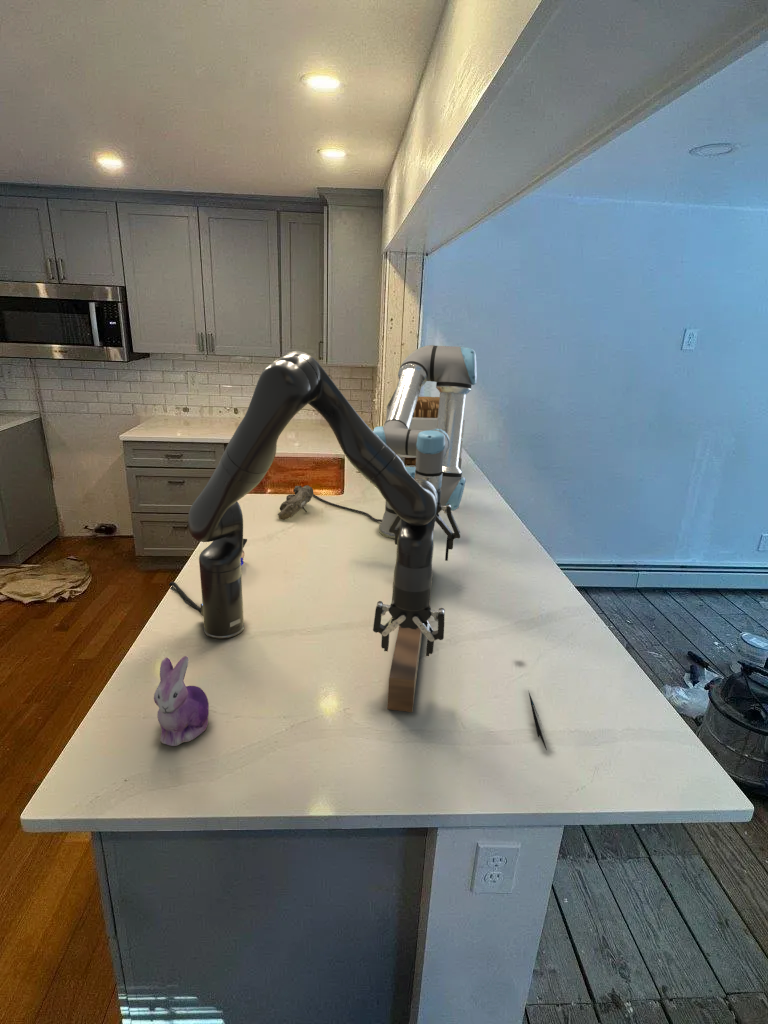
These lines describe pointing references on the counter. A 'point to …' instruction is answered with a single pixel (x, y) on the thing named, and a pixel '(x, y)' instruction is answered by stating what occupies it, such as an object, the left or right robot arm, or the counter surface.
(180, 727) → the figurine
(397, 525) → the right robot arm
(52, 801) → the counter surface
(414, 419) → the white wooden crate
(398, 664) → the post
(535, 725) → the feather
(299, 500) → the fossil
